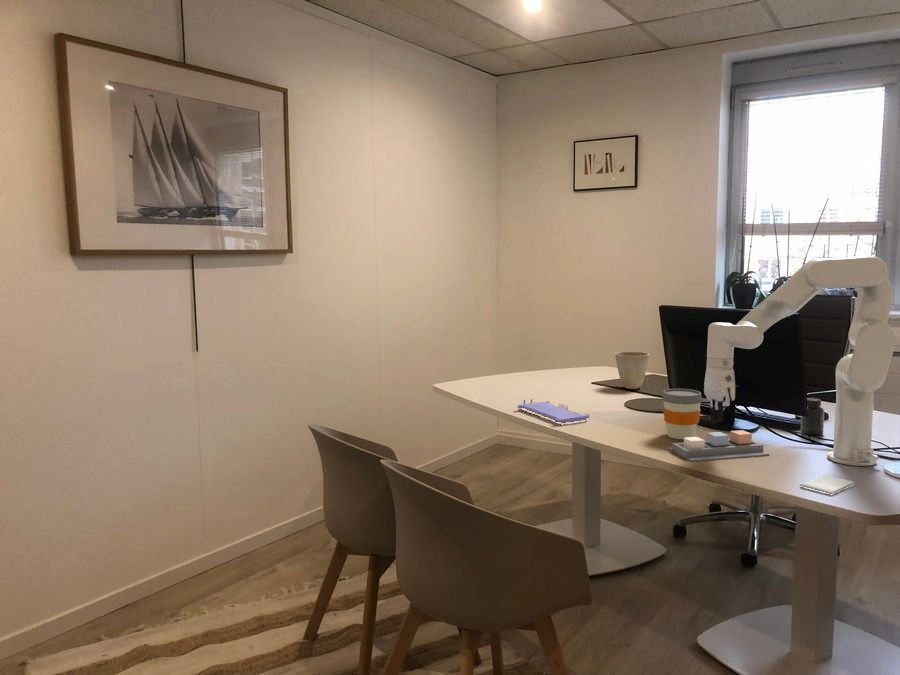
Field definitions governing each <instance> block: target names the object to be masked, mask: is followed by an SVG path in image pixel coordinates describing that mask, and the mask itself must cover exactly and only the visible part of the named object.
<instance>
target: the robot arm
mask: <svg viewBox="0 0 900 675" xmlns="http://www.w3.org/2000/svg"><path fill="white" fill-rule="evenodd" d="M888 269H889V268H888V265H887V263H886V262H885V261H884V260H883V259H882V258H880V257H878V256H874V255H863V254H861V255H855V256H853V257H841V258H840V257H839V258H824V257H822V258H820V257H817V258H813V259H810V260H808V261H807V262H806V263H804V264H803V265H802V266H801V267H800V268H799V269H797V271H796V272H794V273H793V274H792V275H791V276H790V277H789V278H788V279H787V280H786V281H785V282H784V283H782V284H781V285H780V286H779V287H778V288H776V290H775V291H773V292H772V293H771V294H769V295H768V296H767V297H766V298H765V299H764V300H763V301H761V302H760V303H758V304H757V305H756V306H755V307H754V308H752V309H751V310H750V311H749V312H748V313H747V314H746V315H744V316H743V318H741V320H739V321H738V322H737V323H736V324H732V323H731V322H720V321H719V322H718V321H717V322H712V323H710V324H709V325H708V328H707V330H708V331H707V346H706V348H707V349H706V366H705V367H706V370H705V373H704V374H705V375H704V376H705V377H704V384H703V386H704V388H703V392H704V395H705V396H706V400H708V401H709V405H710V409H711V410H710V421H711V422H713V423H723V421H724V413H725V412H724V410H725V409H726V407H730V402H734V401H735V399H736V380H735V379H736V377H735V370H734V369H733V368H734V352H735V351H734V350H735V348H740V349H746V350H747V349H748V350H752V349H753V350H754V349H756V348H758V347H759V346H760V345H761V344H762V343H763V341H764V333H765V332H767V330H768V329H769V328H771V326H773V325H774V324H776V323H777V322H779V321H780V320H782V319H785V318H786V317H787V318H788V317H790V316H792V315H794V314H795V313H797V312H798V311H799V310H800V309H802V308H803V307H804V306H805V305H806V304H807V303H808V302H809V301H811V300H812V299H813V298H814V297H816V295H818V294H819V292H821V291H822V290H823V289H824V290H834V289H851V288H852V289H856V293H857V300H856V304H855V305H856V306H855V309H854V314H853V316H852V321H851V324H850V327H849V330H848V335H847V336H848V340H849V343H850V344H851V345H852V346H853V351H852V353H850V354H846V355H845V356H843V357H841V358H840V360H839V361H838V362H837V364H836V367H835V392H836V396H835V397H836V398H835V399H836V400H835V409H834V410H835V411H834V414H835V415H834V431H833V432H834V433H833V449H832V450H831V451H829V452H827V455H826V457H827V459H829V460H830V461H832V462H835V463H837V464H841V465H847V466H852V467H853V466H856V467H869V466H874V465H876V464H877V461H879V460H880V457H879V455H876V454H874V448H872V437H873V436H872V434H873V420H874V419H873V417H874V416H873V415H874V405H875V403H874V402H875V400H874V399H875V398H874V397H875V394H874V393H875V392H876V391H877V390H878V389H880V388H881V387H882V386H883V384H884V382H885V381H886V378H887V375H888V371H889V368H890V365H891V361H892V359H893V358H892V357H893V353H894V350H895V346H896V334H895V331H894V330H893V328H892V327H891V326H890V325H889V324H888V322H889V317H890V313H891V308H892V302H893V289H892V284H891V282H890V279H889V278H888V271H889V270H888Z"/></svg>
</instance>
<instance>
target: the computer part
mask: <svg viewBox="0 0 900 675" xmlns="http://www.w3.org/2000/svg"><path fill="white" fill-rule="evenodd" d="M521 408H525V409H527V410H529V411H532V412H535V413H537V414H540V415H542V416H544V417H548V418H550V419H553V420H555V422H561V423H566V422H574V421H581V420H586V421H587V419H590V414H589V413H587V414H582V413H578V412H575V411H572V410H568V409H569V408H568V405H566V408H565V404H563V403H560V406H556V405H555V404H552V403H551V401H549V400H548V401H538V402H537V401H536V402H533V399H532V398H530V403H529V402H528V403H526V400H525V399H524V400H523V403H521V404H518V405H517V409H521Z"/></svg>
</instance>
